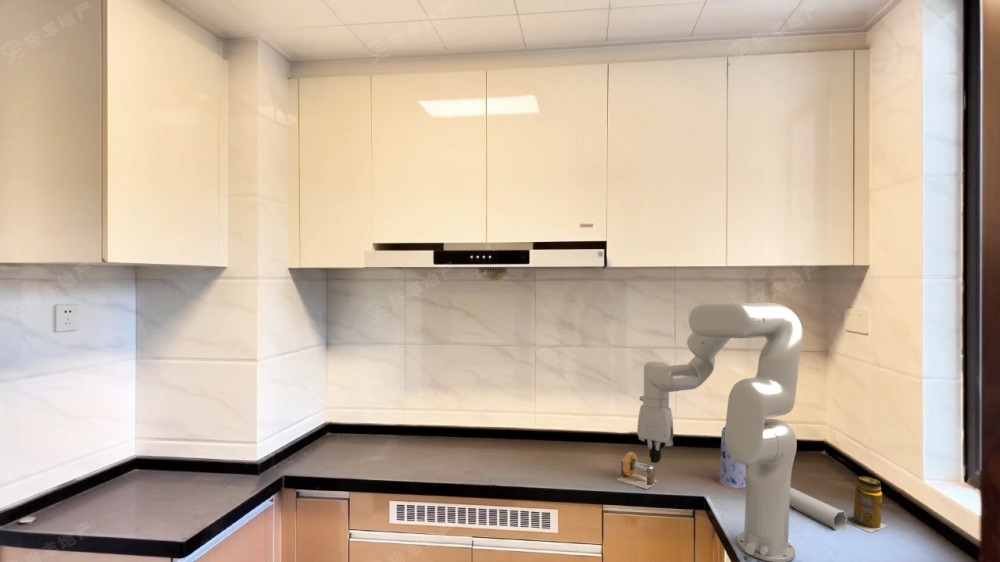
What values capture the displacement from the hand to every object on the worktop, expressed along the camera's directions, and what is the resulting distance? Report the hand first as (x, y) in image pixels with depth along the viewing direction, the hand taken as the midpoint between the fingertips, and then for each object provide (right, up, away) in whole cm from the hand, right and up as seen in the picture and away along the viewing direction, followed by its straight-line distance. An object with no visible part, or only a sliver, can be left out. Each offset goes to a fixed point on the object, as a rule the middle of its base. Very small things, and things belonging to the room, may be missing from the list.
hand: (655, 461), depth 162 cm
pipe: (-4, -4, +4) cm, 7 cm away
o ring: (-6, -6, +6) cm, 11 cm away
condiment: (+51, -10, -20) cm, 56 cm away
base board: (-4, -8, +4) cm, 10 cm away
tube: (+38, -10, -12) cm, 41 cm away
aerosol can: (+26, -9, +5) cm, 28 cm away
